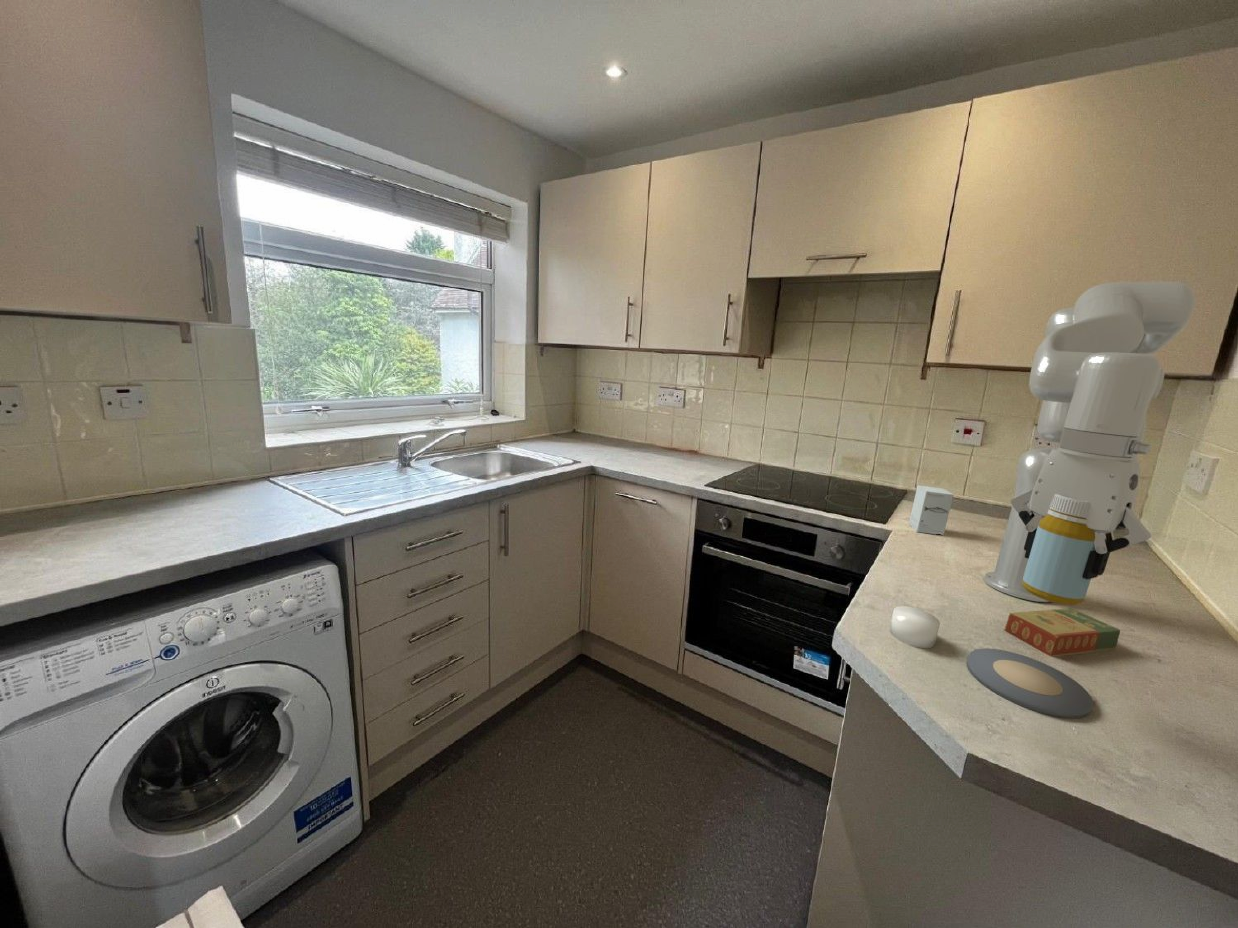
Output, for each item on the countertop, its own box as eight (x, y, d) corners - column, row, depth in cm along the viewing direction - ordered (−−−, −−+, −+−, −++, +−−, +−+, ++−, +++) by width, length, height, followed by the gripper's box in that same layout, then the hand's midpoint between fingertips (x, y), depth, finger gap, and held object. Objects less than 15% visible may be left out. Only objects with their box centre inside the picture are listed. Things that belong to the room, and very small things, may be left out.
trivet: (999, 646, 86) (1000, 640, 86) (1111, 703, 73) (1113, 696, 73) (945, 664, 80) (947, 658, 79) (1058, 729, 67) (1060, 722, 66)
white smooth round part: (905, 623, 92) (910, 603, 91) (943, 644, 86) (949, 623, 85) (880, 629, 89) (884, 609, 88) (917, 652, 83) (923, 630, 82)
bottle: (1021, 579, 78) (1047, 487, 74) (1080, 595, 74) (1111, 498, 70) (1020, 593, 72) (1048, 495, 69) (1084, 612, 68) (1117, 508, 65)
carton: (1002, 632, 92) (1008, 610, 91) (1064, 625, 97) (1070, 605, 96) (1051, 658, 84) (1057, 635, 83) (1116, 650, 89) (1123, 628, 88)
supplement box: (916, 532, 145) (925, 490, 142) (908, 524, 152) (916, 484, 149) (944, 536, 143) (954, 494, 140) (934, 528, 150) (944, 487, 147)
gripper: (1198, 459, 62) (1152, 590, 66) (1037, 433, 77) (1007, 542, 81) (1173, 460, 59) (1126, 598, 63) (1010, 433, 74) (980, 546, 78)
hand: (1059, 565), depth 72 cm, fingers closed on bottle, 6 cm apart
